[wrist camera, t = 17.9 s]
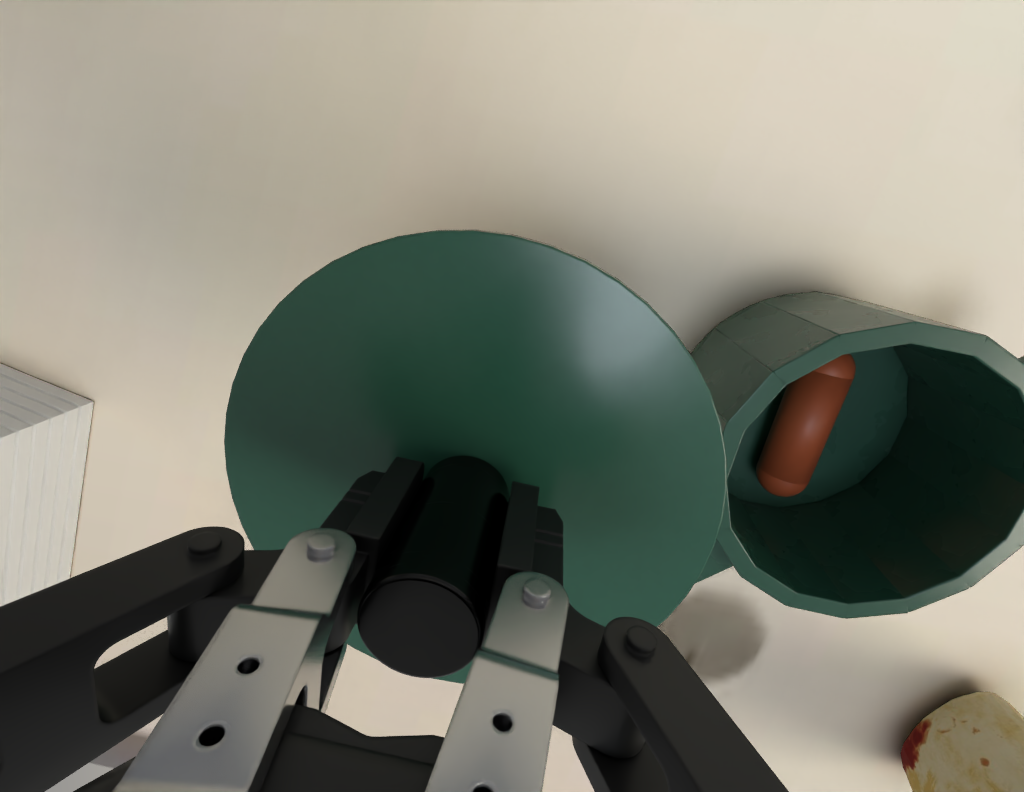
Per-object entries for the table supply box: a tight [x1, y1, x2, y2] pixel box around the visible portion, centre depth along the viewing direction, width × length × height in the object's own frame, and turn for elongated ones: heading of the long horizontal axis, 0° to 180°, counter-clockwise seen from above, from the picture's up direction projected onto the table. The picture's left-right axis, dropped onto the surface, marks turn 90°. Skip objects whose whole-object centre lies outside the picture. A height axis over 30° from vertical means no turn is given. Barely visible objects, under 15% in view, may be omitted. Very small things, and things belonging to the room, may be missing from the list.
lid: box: [224, 230, 727, 683], centre depth 13 cm, size 14×14×6 cm
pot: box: [691, 292, 1024, 619], centre depth 25 cm, size 13×18×8 cm
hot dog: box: [756, 354, 856, 497], centre depth 27 cm, size 8×3×3 cm, turn 170°
